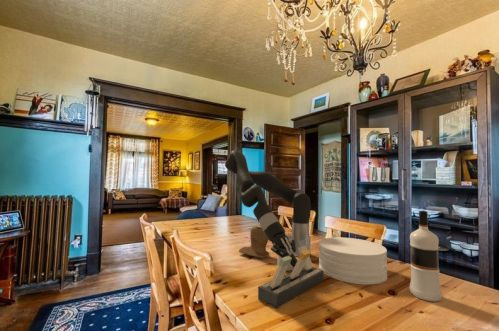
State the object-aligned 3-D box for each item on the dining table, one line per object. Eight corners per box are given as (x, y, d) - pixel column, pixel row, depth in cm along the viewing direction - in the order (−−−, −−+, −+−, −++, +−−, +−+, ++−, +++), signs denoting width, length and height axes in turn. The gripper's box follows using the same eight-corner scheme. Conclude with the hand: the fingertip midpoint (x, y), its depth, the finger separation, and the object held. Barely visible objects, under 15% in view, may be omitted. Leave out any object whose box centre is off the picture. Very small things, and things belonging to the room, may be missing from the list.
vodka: (424, 303, 79) (421, 212, 80) (403, 290, 88) (401, 209, 89) (449, 302, 79) (446, 212, 81) (426, 289, 89) (424, 209, 90)
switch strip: (258, 299, 80) (258, 286, 80) (306, 274, 101) (306, 264, 101) (276, 308, 74) (276, 294, 74) (323, 280, 95) (323, 270, 95)
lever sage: (268, 287, 79) (280, 258, 76) (277, 283, 82) (289, 255, 79) (271, 290, 78) (284, 261, 75) (280, 286, 81) (292, 258, 78)
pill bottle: (296, 266, 110) (296, 233, 111) (292, 272, 103) (292, 237, 104) (280, 263, 113) (280, 232, 114) (274, 269, 106) (275, 235, 107)
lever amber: (288, 277, 87) (301, 252, 83) (295, 274, 90) (308, 249, 86) (291, 280, 86) (304, 255, 82) (298, 277, 89) (311, 252, 85)
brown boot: (274, 255, 126) (274, 226, 127) (262, 261, 116) (262, 230, 117) (250, 249, 135) (251, 223, 136) (238, 255, 125) (238, 226, 126)
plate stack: (394, 271, 107) (393, 245, 107) (376, 292, 86) (375, 260, 87) (334, 256, 126) (333, 234, 127) (307, 270, 105) (307, 244, 106)
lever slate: (305, 271, 94) (295, 242, 98) (311, 269, 97) (301, 240, 101) (308, 271, 93) (297, 241, 97) (314, 268, 96) (303, 239, 100)
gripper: (277, 230, 102) (300, 266, 92) (255, 234, 93) (279, 275, 83) (286, 219, 99) (312, 256, 89) (265, 222, 90) (291, 264, 80)
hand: (296, 265), depth 86 cm, fingers closed
